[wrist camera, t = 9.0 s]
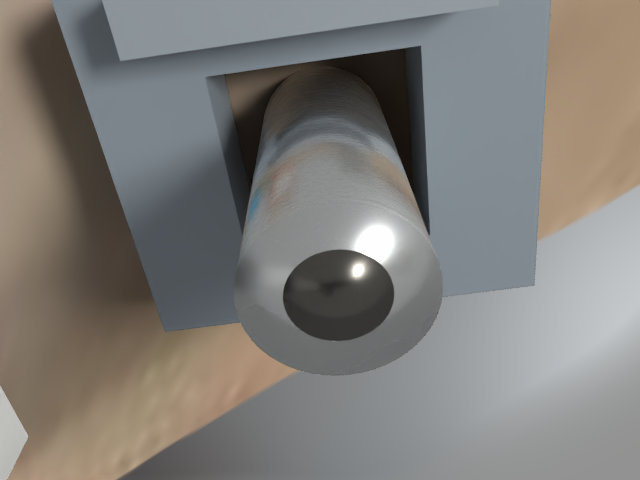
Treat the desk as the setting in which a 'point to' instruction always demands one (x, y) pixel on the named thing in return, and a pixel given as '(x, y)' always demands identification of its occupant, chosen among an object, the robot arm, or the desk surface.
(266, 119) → the bushing
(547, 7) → the frame
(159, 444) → the desk surface
